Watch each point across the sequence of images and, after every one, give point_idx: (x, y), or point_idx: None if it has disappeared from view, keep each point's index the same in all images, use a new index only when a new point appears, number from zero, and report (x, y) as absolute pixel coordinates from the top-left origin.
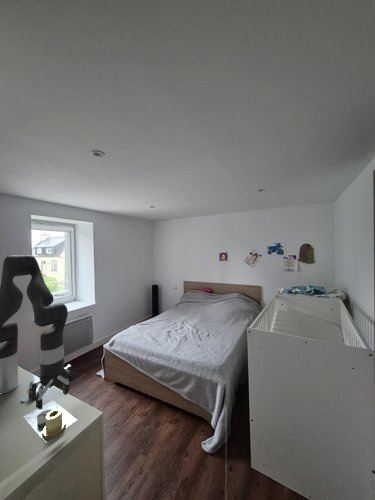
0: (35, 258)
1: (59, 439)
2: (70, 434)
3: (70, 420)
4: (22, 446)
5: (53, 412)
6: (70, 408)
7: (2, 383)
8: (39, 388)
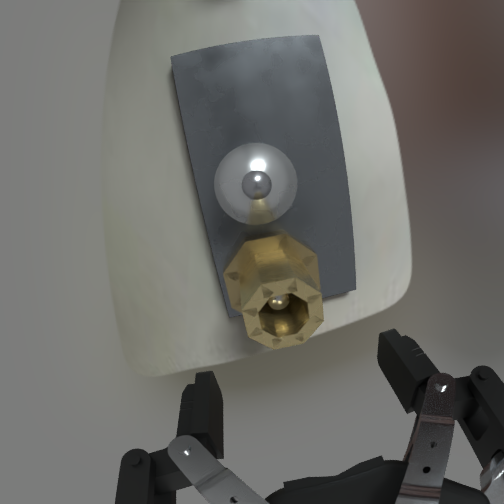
0: None
1: None
2: None
3: (337, 272)
4: (156, 245)
5: (287, 289)
6: (367, 164)
7: None
8: (205, 498)
